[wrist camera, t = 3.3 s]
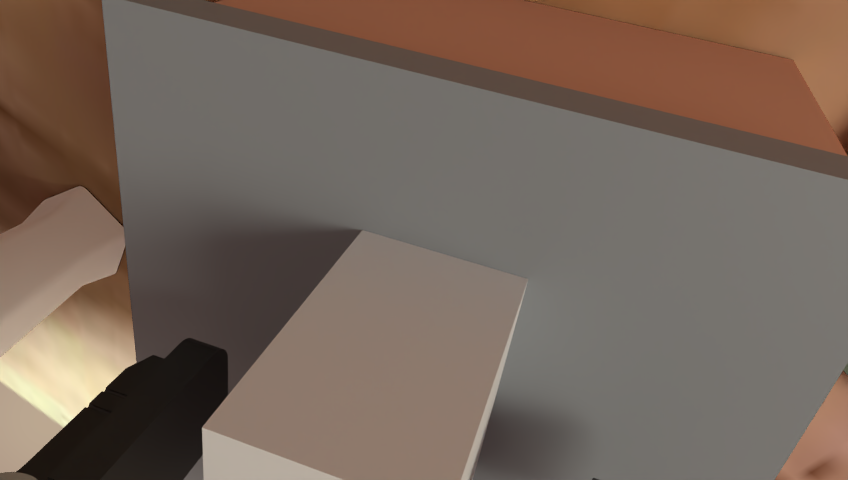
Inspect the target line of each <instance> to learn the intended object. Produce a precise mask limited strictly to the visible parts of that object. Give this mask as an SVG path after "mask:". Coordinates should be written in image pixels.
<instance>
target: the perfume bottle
mask: <svg viewBox="0 0 848 480" xmlns="http://www.w3.org/2000/svg"><path fill="white" fill-rule="evenodd" d="M124 248H125V236H124V227H123V226H122V225H121V224H120V223H119V222H118V221H117V220H116V219H115V218H114V217H113V216H112V215H111V214H110V213H109V212H108V211H107V210H106V209H105V208H104V207H103V206H102V205H101V204H100V203H99V202H98V201H97V200H96V199H95V198H94V197H93V195H92V194H91V193H90V192H89V191H88V190H87V189H85V188H84V187H82V186H78V187H75V188H73V189H70V190H68V191H65V192H63V193H60V194H58V195H55V196H53V197H50V198H48V199H45V200H44V201H43V202H42V203H41V204H40V205H39V206H38V207H37V208H36V209H35V210H34V211H33V212H32V213H31V214H30V215H29V216H28V218H27V219H26V220H25V221H24V222H23V223H22V224H20V225H18V226H16V227H14V228H12V229H9V230H7V231H5V232H3V233H1V234H0V357H1V356H2V355H4V354H5V353H6V352H7V351H8V350H9V349H10V348H12V347H13V346H14V345H15V344H16V343H17V342H18V341H20V340H21V339H22V338H23V337H24V336H25V335H27V334H28V333H29V332H30V331H31V330H32V329H33V328H35V327H36V326H37V325H38V324H39V323H40V322H41V321H43V320H44V319H45V318H46V317H47V316H48V315H49V314H51V313H52V312H53V311H54V310H55V309H56V308H57V307H59V306H60V305H61V304H62V303H63V302H64V301H65V300H67V299H68V298H69V297H70V296H71V295H72V294H73V293H75V292H76V291H77V290H78V289H79V288H80V287H81V286H83V285H86V284H88V283H91V282H94V281H97V280H99V279H102V278H105V277H108V276H110V275H113V274H115V273H116V272H117V269H118V266H119V263H120V260H121V257H122V254H123V251H124Z"/></svg>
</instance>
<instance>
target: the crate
mask: <svg viewBox="0 0 848 480" xmlns="http://www.w3.org/2000/svg"><path fill="white" fill-rule="evenodd" d="M215 3H218V4H222V5H226V6H230V7H234V8H238V9H242V10H247V11H251V12H255V13H259V14H263V15H267V16H271V17H275V18H280V19H284V20H288V21H292V22H296V23H300V24H304V25H308V26H313V27H317V28H321V29H325V30H329V31H333V32H337V33H341V34H346V35H350V36H354V37H358V38H362V39H366V40H370V41H374V42H378V43H383V44H387V45H391V46H395V47H399V48H403V49H407V50H411V51H416V52H420V53H424V54H428V55H432V56H436V57H440V58H444V59H449V60H453V61H457V62H461V63H465V64H469V65H473V66H477V67H482V68H486V69H490V70H494V71H498V72H502V73H506V74H510V75H515V76H519V77H523V78H527V79H531V80H535V81H539V82H543V83H548V84H552V85H556V86H560V87H564V88H568V89H572V90H576V91H580V92H585V93H589V94H593V95H597V96H601V97H605V98H609V99H613V100H618V101H622V102H626V103H630V104H634V105H638V106H642V107H646V108H651V109H655V110H659V111H663V112H667V113H671V114H675V115H679V116H684V117H688V118H692V119H696V120H700V121H704V122H708V123H712V124H717V125H721V126H725V127H729V128H733V129H737V130H741V131H745V132H749V133H754V134H758V135H762V136H766V137H770V138H774V139H778V140H782V141H787V142H791V143H795V144H799V145H803V146H807V147H811V148H815V149H820V150H824V151H828V152H832V153H836V154H840V155H844V156H847V154H846V152H845V150H844V149H843V147H842V145H841V143H840V142H839V140H838V138H837V136H836V134H835V133H834V131H833V129H832V127H831V126H830V124H829V122H828V120H827V119H826V117H825V115H824V113H823V112H822V110H821V108H820V106H819V105H818V103H817V101H816V99H815V98H814V96H813V94H812V92H811V91H810V89H809V87H808V85H807V84H806V82H805V80H804V78H803V77H802V75H801V73H800V71H799V70H798V68H797V66H796V64H795V63H794V61H793V60H791V59H786V58H782V57H777V56H773V55H768V54H764V53H759V52H755V51H750V50H746V49H741V48H737V47H732V46H728V45H723V44H719V43H714V42H710V41H705V40H701V39H696V38H692V37H687V36H683V35H678V34H674V33H669V32H665V31H660V30H656V29H651V28H647V27H642V26H638V25H633V24H629V23H624V22H620V21H615V20H611V19H606V18H602V17H597V16H593V15H588V14H584V13H579V12H574V11H570V10H565V9H561V8H556V7H552V6H547V5H543V4H538V3H534V2H529V1H525V0H221V1H218V2H215Z"/></svg>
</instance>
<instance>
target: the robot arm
mask: <svg viewBox="0 0 848 480" xmlns="http://www.w3.org/2000/svg"><path fill="white" fill-rule="evenodd" d="M227 396H228V354H227V352H226V350H224V349H221V348H218V347H216V346H213V345H210V344H207V343H204V342H201V341H198V340H195V339H192V338H187V339H185V340H183V341H182V342H181V343H180V344H179V345H178V346H177V347H176V348H175V349H174V350H173V351H172V352H171V353H170V354H169V355H168V356H167V357H166V358H165V359H164V358H161V357H158V356H155V355H152V356H150V357H148V358H146V359H144V360H142V361H140V362H138V363H136V364H134V365H132V366H130V367H128V368H126V369H125V370H124V371H123V372H122V373H121V374H120V375H119V376H118V377H117V378H116V379H115V380H113V381H112V382H111V383H110V384H109V385H108V386H107V387H106V390H105V391H104V392H101V393H100V394H99V395H98V396H97V397H96V398H95V399H94V400H92V401H91V402H90V404H89V407H88V408H86V407H85V408H84V409H83V410H82V411H81V412H80V413H79V414H78V415H77V416H76V417H75V418H74V419H73V420H71V421H70V422H69V423H68V424H67V425H66V426H65V427H64V428H63V429H62V430H61V431H60V432H59V433H58V434H57V435H56V436H55V437H54V438H53V439H51V440H50V441H49V442H48V443H47V444H46V445H45V446H44V447H43V448H42V449H41V450H40V451H39V452H38V453H37V454H36V455H35V456H34V457H33V458H32V459H31V460H30V461H28V462H27V463H26V464H25V465H24V466H23V467H22V468H21V469H19V470H18V471H17V472H5V473H0V480H183V479H184V478H185V477H186V476H187V474H188V473H189V472H190V470H191V469H192V468H193V467H194V465H195V464H196V463H197V461H198V460H199V459H200V458H201V456H202V455H203V445H202V427H203V426H204V424H205V423H206V422H207V421H208V419H209V418H210V417H211V416H212V415H213V413H214V412H215V411H216V410H217V408H218V407H219V406H220V405H221V403H222V402H223V401H224V400H225V399H226V397H227ZM592 480H599V479H596V478H593V479H592Z"/></svg>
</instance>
